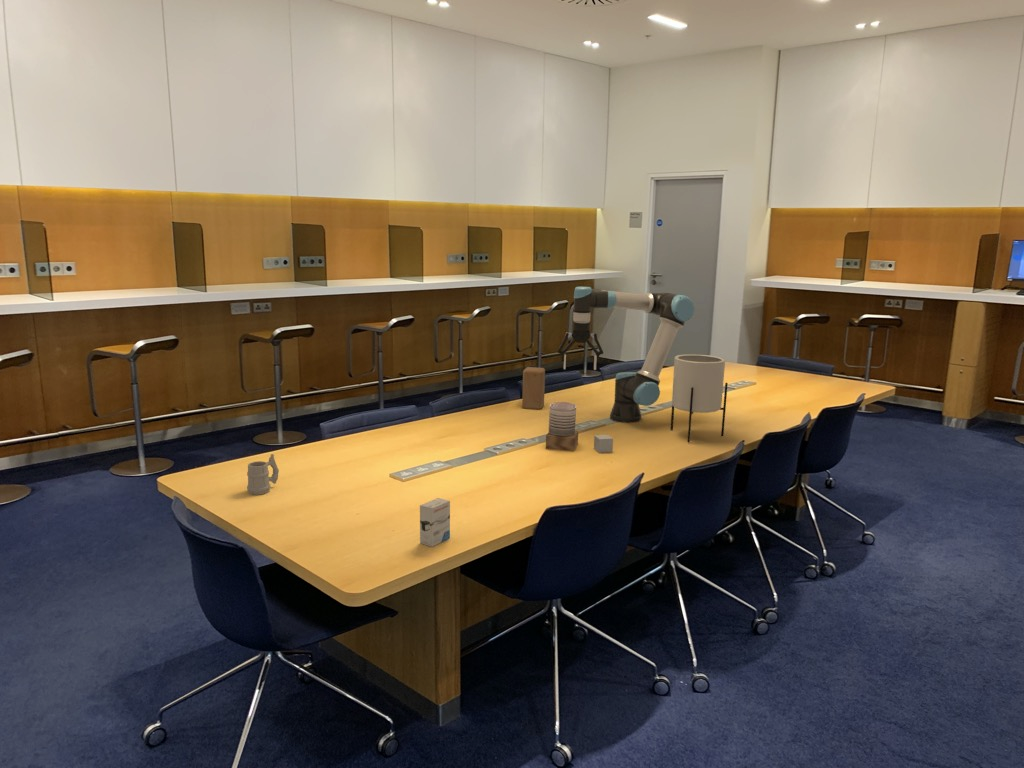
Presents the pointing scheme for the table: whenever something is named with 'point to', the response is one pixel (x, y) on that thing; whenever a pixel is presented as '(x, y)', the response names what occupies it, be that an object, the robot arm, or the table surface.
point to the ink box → (434, 522)
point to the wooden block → (533, 388)
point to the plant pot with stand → (698, 385)
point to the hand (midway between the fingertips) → (579, 369)
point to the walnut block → (562, 442)
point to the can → (562, 418)
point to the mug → (261, 476)
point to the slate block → (603, 443)
